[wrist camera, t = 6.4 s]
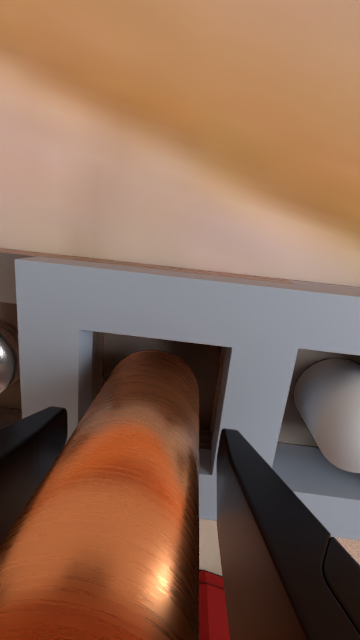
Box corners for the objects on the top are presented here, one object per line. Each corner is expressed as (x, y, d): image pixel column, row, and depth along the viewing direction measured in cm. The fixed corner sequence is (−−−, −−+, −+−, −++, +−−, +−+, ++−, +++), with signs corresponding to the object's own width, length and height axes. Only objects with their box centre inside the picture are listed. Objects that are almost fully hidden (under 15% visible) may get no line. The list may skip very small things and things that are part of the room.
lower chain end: (247, 472, 12) (252, 496, 11) (-76, 430, 13) (-103, 449, 12) (285, 279, 10) (296, 284, 9) (-105, 237, 11) (-142, 237, 10)
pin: (244, 326, 9) (614, 1034, 1) (220, 468, 10) (294, 1241, 2) (76, 307, 9) (-763, 778, 1) (74, 449, 11) (-314, 1110, 3)
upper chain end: (391, 491, 12) (435, 550, 10) (57, 447, 13) (25, 494, 10) (461, 298, 10) (539, 316, 8) (55, 254, 10) (14, 259, 8)
